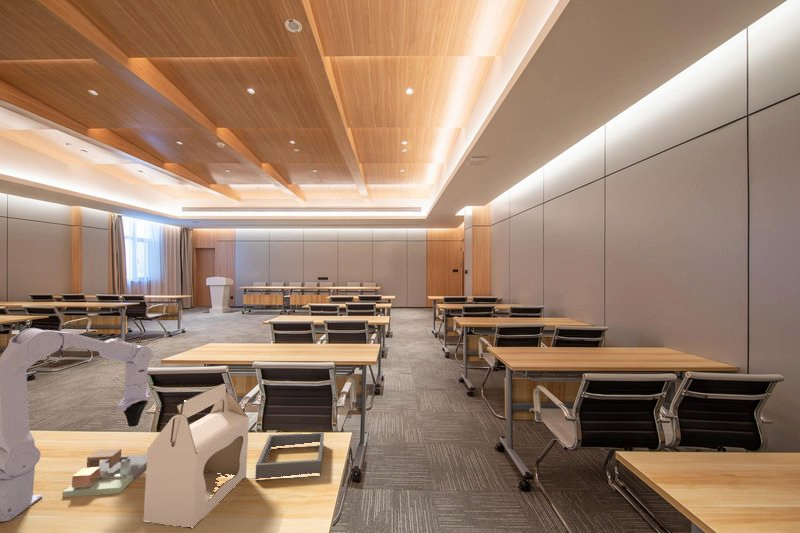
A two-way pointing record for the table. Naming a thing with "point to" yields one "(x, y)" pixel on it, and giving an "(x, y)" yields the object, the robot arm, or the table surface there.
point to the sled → (97, 475)
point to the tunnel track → (113, 466)
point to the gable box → (196, 459)
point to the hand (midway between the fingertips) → (133, 425)
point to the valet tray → (291, 466)
